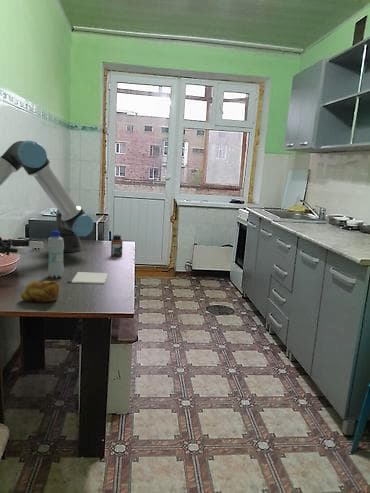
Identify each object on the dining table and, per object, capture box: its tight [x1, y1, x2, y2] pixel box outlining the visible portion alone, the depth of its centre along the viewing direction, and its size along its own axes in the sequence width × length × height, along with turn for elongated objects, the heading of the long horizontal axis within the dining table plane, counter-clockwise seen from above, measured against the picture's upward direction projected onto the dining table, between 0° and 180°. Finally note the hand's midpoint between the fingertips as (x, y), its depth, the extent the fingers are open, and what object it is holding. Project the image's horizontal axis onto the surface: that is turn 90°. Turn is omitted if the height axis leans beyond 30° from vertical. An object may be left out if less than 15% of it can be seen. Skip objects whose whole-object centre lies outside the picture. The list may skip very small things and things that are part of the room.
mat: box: [67, 271, 109, 285], centre depth 166 cm, size 14×15×1 cm
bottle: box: [47, 230, 65, 279], centre depth 164 cm, size 7×7×20 cm
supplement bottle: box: [110, 234, 123, 258], centre depth 208 cm, size 6×6×11 cm
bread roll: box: [20, 280, 60, 304], centre depth 138 cm, size 13×10×8 cm
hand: (34, 248), depth 165 cm, fingers open, 13 cm apart
